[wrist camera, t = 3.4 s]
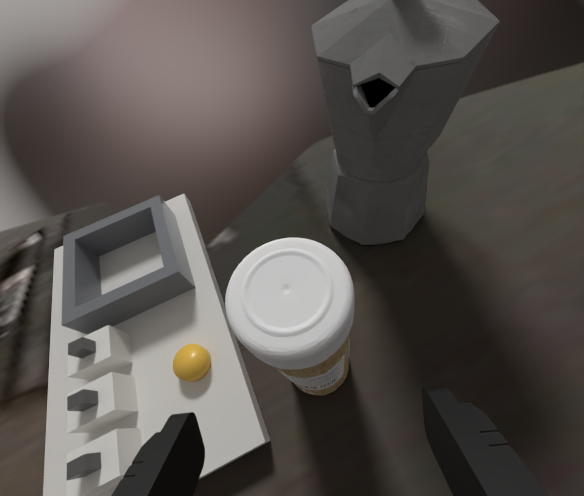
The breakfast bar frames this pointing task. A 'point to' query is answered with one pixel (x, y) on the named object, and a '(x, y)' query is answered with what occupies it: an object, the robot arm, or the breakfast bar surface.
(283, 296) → the sprinkles bottle
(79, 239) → the breaker panel
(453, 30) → the coffeepot
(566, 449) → the breakfast bar surface
